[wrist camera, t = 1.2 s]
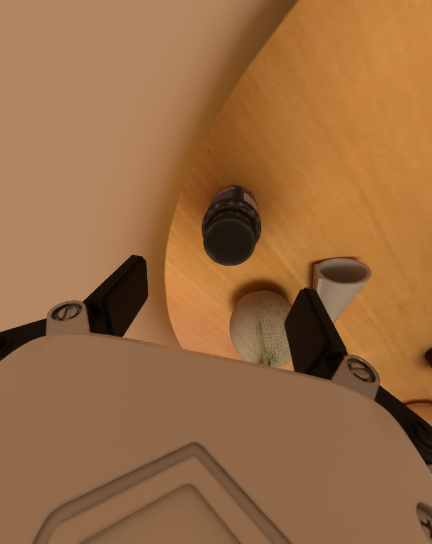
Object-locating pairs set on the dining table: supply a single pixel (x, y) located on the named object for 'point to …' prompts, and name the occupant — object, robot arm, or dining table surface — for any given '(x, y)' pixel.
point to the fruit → (261, 328)
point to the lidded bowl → (422, 411)
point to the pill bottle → (231, 226)
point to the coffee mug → (429, 357)
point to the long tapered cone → (339, 283)
